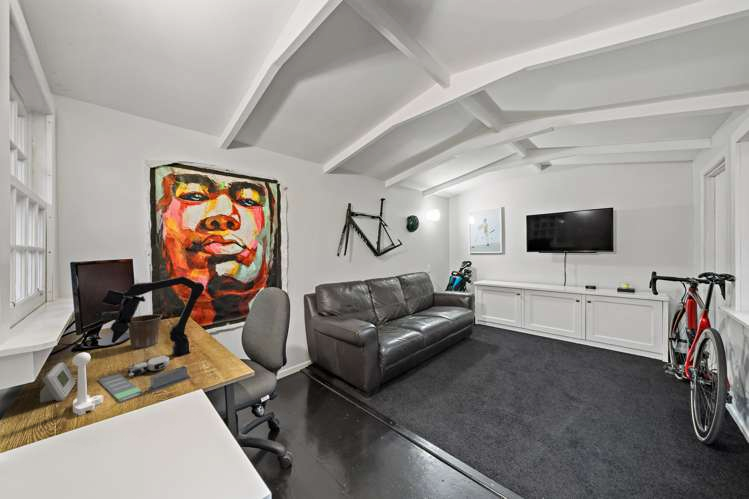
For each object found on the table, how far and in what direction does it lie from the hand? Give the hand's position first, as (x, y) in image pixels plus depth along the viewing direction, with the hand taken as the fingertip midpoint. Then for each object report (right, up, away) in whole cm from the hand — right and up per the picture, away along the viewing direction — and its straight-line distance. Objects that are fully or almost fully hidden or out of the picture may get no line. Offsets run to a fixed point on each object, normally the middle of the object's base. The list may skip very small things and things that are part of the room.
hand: (114, 339), depth 131 cm
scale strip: (+20, -13, -19) cm, 31 cm away
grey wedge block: (+39, -13, -16) cm, 44 cm away
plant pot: (-10, -13, +29) cm, 33 cm away
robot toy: (+20, -13, -4) cm, 25 cm away
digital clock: (+2, -14, -24) cm, 28 cm away
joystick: (+22, -14, -33) cm, 41 cm away
